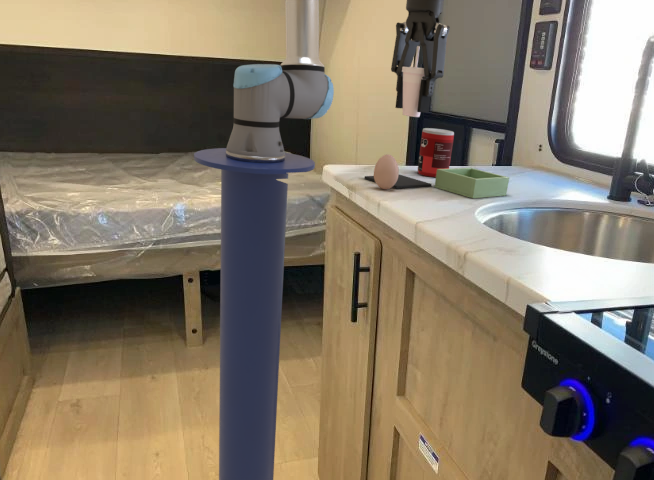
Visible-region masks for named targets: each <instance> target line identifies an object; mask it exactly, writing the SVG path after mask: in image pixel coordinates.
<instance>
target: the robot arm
mask: <svg viewBox="0 0 654 480" xmlns="http://www.w3.org/2000/svg"><path fill="white" fill-rule="evenodd" d="M284 1H285V4H284V5H285V8H284V9H285V54H286V55H285V59H284V60H283V61H282V62H281V64H274V63H263V64H262V63H257V64H255V63H254V64H244V65H239V66H238V67H237V68H236V69H235V71H234V76H233V77H234V78H233V84H232V85H233V127H232V130H231V133H230V135H229V139H228V142H227V145H226V147H225V148H226V157H228V158H230V159H233V160H238V161H244V162H252V163H279V162H283V161H285V153H286V152H285V147H284V144H283V141H282V137H281V132H280V119H299V120H300V119H303V120H311V119H320V118H322V117H324V116H325V115H326V114H327V113H328V110H330V108H331V106H332V103H333V100H334V93H335V90H334V89H335V88H334V84H333V82H332V79H331V77H330V76H329V75H327V74H326V73H325V72H326V71H325V64H323V63H322V62H321V60H320V39H319V38H320V0H284ZM444 3H445V0H406V3H405V10H406V11H407V13H408V15H407V17H406V19H405V21H404V22H396V23H395V34H396V36H395V41H394V47H393V54H392V61H391V66H390V71H391V72H392V73H394V74H395V75H396V87H395V91H396V97H395V98H396V99H395V100H396V101H395V108H396V109H403V72H402V67H412V64H413V61H414V59H415V56H416V51H417V46H420V47H421V52H422V63H423V68H424V76H423V77H422V78H423V79H426V80H423V79H421V85H420V93H419V101H418V109H417V112H421V113H425V114H428V113H429V112H430V105H431V98H432V97H433V95H434V90H435V82H436V80H437V79H439V78H440V79H441V78H443V77H444V74H445V65H446V64H445V63H446V53H447V51H446V50H447V39H448V36H449V33H450V30H451V28H450V25H447V24H444V23H441V21H440V15H441V14H443V10H444ZM430 72H431V73H430Z"/></svg>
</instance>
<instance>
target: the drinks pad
mask: <svg viewBox="0 0 654 480" xmlns="http://www.w3.org/2000/svg"><path fill="white" fill-rule="evenodd" d="M364 179H365V180H367V181H370V182H373V183H376V182H375V180H374V175H365V176H364ZM432 185H433V184H432V183H431V182H426V181H423V180H420V179H416V178H413V177H409V176H407V175H402V174H399V175H398V179H397V182H396V183H395V184H394V186H393V187H391V188H392V189H396V190H399V189H400V190H403V189H415V188H416V189H417V188H429V187H431V188H432Z"/></svg>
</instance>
